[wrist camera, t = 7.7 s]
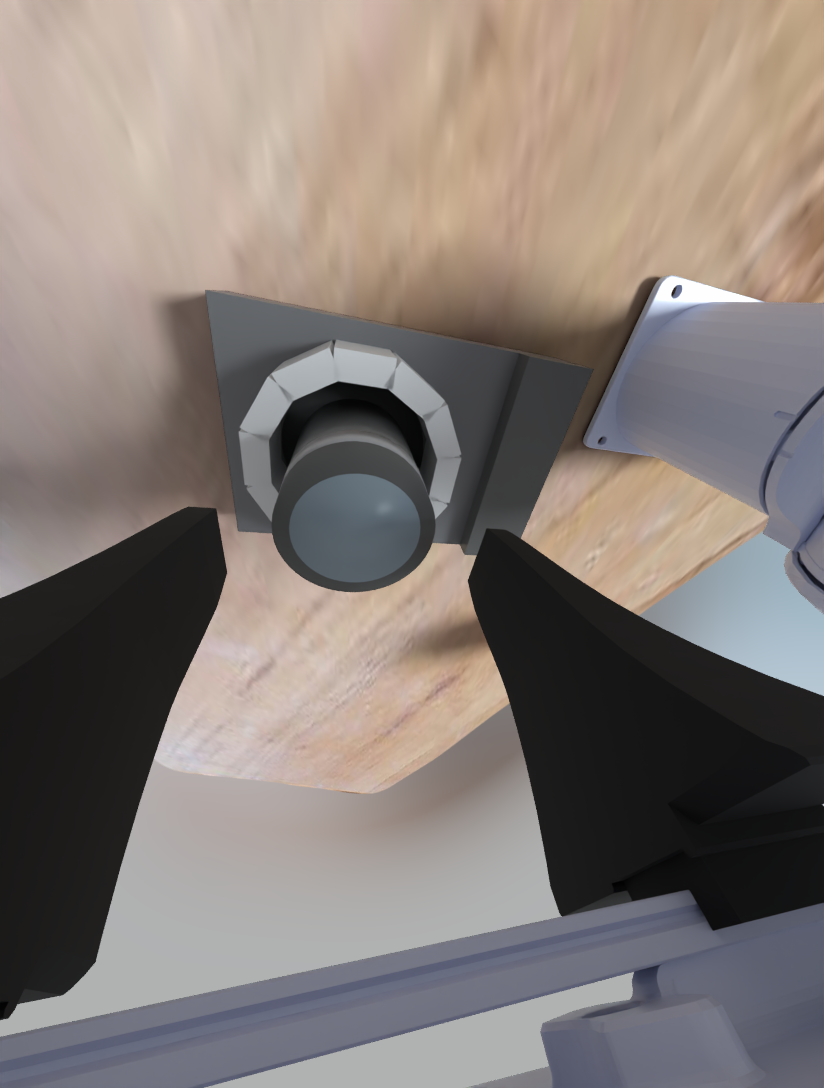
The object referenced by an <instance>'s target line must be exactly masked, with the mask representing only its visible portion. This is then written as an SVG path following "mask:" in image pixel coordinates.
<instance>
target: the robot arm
mask: <svg viewBox="0 0 824 1088" xmlns="http://www.w3.org/2000/svg"><path fill="white" fill-rule="evenodd" d="M675 286H676V291H675V293H674V295H673V296H672V297H671V292H672V290H673V288H674V287H675ZM601 437H603V438H602V440H601V441H600V442H599V443H598V440H599V439H600V438H601ZM583 443H584V444H585V445H586V446H587V447H589V448H594V449H602V450H609V451H616V452H623V453H630V454H637V455H645V456H652V457H657V458H659V459H661V460H662V461H664V462H666V463H668V464H670V465H672V466H674V467H676V468H678V469H680V470H682V471H684V472H685V473H687V474H689V475H691V476H693V477H695V478H697V479H699V480H701V481H703V482H705V483H707V484H709V485H710V486H712V487H714V488H716V489H718V490H720V491H722V492H724V493H726V494H728V495H730V496H732V497H733V498H735V499H737V500H739V501H741V502H743V503H745V504H747V505H749V506H751V507H753V508H755V509H757V510H758V511H760V512H762V513H764V514H766V515H768V516H769V519H768V522H767V525H766V527H765V528H764V530H763V534H764V535H766V536H768V537H770V538H772V539H773V540H775V541H777V542H779V543H780V544H782V545H784V546H786V547H787V548H789V549H791V550H790V551H789V552H788V554H787V555H786V558H785V564H784V567H785V571H786V574H787V576H788V578H789V580H790V581H791V583H792V584H793V585H794V586H795V588H796V589H797V590H798V591H799V593H800V594H801V595H802V596H804V597H805V598H806V599H807V600H808V601H809V602H810V603H811V604H812V605H813V606H815V607H816V608H817V609H818V610H819V611H820V612H822V613H823V614H824V303H789V302H764V301H760V300H757V299H753V298H750V297H746V296H743V295H739V294H736V293H733V292H729V291H726V290H722V289H719V288H715V287H712V286H708V285H705V284H702V283H698V282H695V281H691V280H688V279H684V278H681V277H677V276H674V275H672V276H664V277H662V278H660V279H659V280H658V281H657V282H656V284H655V286H654V287H653V289H652V292H651V294H650V296H649V298H648V300H647V302H646V304H645V307H644V309H643V311H642V313H641V315H640V317H639V320H638V322H637V324H636V326H635V328H634V330H633V332H632V335H631V337H630V339H629V341H628V343H627V345H626V348H625V350H624V352H623V354H622V356H621V358H620V360H619V363H618V365H617V367H616V369H615V371H614V373H613V375H612V378H611V380H610V382H609V384H608V386H607V388H606V391H605V393H604V395H603V397H602V399H601V401H600V403H599V406H598V408H597V410H596V412H595V414H594V416H593V419H592V421H591V423H590V425H589V427H588V429H587V431H586V434H585V436H584V439H583ZM226 575H227V569H226V563H225V557H224V552H223V546H222V540H221V534H220V528H219V523H218V517H217V511H216V509H214V508H200V507H187V508H184V509H182V510H180V511H178V512H176V513H174V514H172V515H170V516H168V517H166V518H164V519H162V520H161V521H159V522H157V523H155V524H153V525H151V526H149V527H148V528H146V529H144V530H142V531H140V532H138V533H136V534H135V535H133V536H131V537H129V538H127V539H125V540H123V541H121V542H120V543H118V544H116V545H114V546H112V547H110V548H108V549H106V550H104V551H102V552H100V553H98V554H96V555H94V556H92V557H90V558H88V559H86V560H84V561H82V562H80V563H78V564H76V565H74V566H72V567H70V568H67V569H65V570H63V571H61V572H59V573H57V574H55V575H53V576H51V577H49V578H47V579H44V580H42V581H40V582H38V583H35V584H33V585H31V586H29V587H26V588H24V589H22V590H19V591H17V592H15V593H12V594H10V595H7V596H5V597H2V598H0V1020H3V1019H7V1018H9V1017H10V1015H11V1014H12V1013H13V1011H14V1010H15V1008H16V1006H17V1004H20V1003H25V1002H30V1001H36V1000H41V999H45V998H50V997H55V996H61V995H64V994H65V993H66V992H67V991H68V990H70V989H71V988H72V987H73V986H74V985H75V984H76V983H77V982H78V981H79V980H80V979H81V978H82V977H83V976H84V975H85V974H86V973H87V972H88V970H89V969H90V968H91V967H92V965H93V964H94V963H95V962H96V958H97V954H98V950H99V946H100V942H101V938H102V934H103V930H104V926H105V923H106V919H107V915H108V912H109V908H110V904H111V901H112V896H113V893H114V889H115V886H116V882H117V878H118V874H119V871H120V867H121V864H122V860H123V857H124V853H125V850H126V847H127V843H128V840H129V837H130V833H131V830H132V826H133V823H134V820H135V816H136V812H137V809H138V806H139V802H140V799H141V796H142V793H143V790H144V787H145V784H146V781H147V777H148V774H149V772H150V768H151V765H152V762H153V759H154V756H155V753H156V750H157V747H158V744H159V741H160V738H161V735H162V733H163V730H164V727H165V724H166V721H167V718H168V715H169V712H170V709H171V707H172V704H173V702H174V699H175V697H176V695H177V692H178V690H179V687H180V685H181V683H182V681H183V679H184V677H185V675H186V672H187V670H188V668H189V666H190V664H191V662H192V660H193V658H194V655H195V653H196V651H197V649H198V647H199V645H200V643H201V640H202V638H203V636H204V634H205V632H206V630H207V628H208V625H209V623H210V621H211V619H212V617H213V614H214V612H215V610H216V608H217V605H218V602H219V599H220V595H221V592H222V589H223V585H224V582H225V578H226ZM468 584H469V588H470V593H471V597H472V601H473V605H474V609H475V612H476V615H477V617H478V620H479V622H480V625H481V628H482V630H483V633H484V635H485V638H486V640H487V643H488V645H489V648H490V650H491V653H492V655H493V657H494V660H495V662H496V665H497V667H498V670H499V672H500V675H501V677H502V680H503V683H504V686H505V689H506V692H507V695H508V698H509V702H510V705H511V709H512V712H513V716H514V719H515V723H516V726H517V730H518V734H519V738H520V741H521V745H522V749H523V753H524V757H525V761H526V765H527V770H528V773H529V778H530V782H531V787H532V792H533V796H534V801H535V805H536V810H537V815H538V820H539V825H540V830H541V835H542V841H543V846H544V851H545V857H546V862H547V868H548V874H549V880H550V886H551V889H552V892H553V895H554V898H555V901H556V904H557V907H558V910H559V913H560V914H561V916H562V917H558V918H554V919H549V920H544V921H540V922H535V923H530V924H526V925H521V926H516V927H512V928H507V929H502V930H498V931H493V932H488V933H484V934H479V935H474V936H470V937H465V938H460V939H456V940H451V941H446V942H442V943H437V944H433V945H428V946H423V947H419V948H414V949H409V950H404V951H400V952H395V953H390V954H386V955H381V956H376V957H372V958H367V959H362V960H358V961H353V962H348V963H343V964H339V965H334V966H329V967H325V968H321V969H316V970H311V971H307V972H302V973H297V974H292V975H288V976H283V977H278V978H273V979H269V980H264V981H259V982H255V983H250V984H245V985H241V986H236V987H231V988H227V989H222V990H218V991H213V992H208V993H203V994H199V995H194V996H189V997H185V998H180V999H176V1000H171V1001H166V1002H161V1003H157V1004H152V1005H148V1006H143V1007H138V1008H133V1009H129V1010H124V1011H119V1012H115V1013H110V1014H106V1015H101V1016H96V1017H92V1018H87V1019H83V1020H78V1021H72V1022H68V1023H64V1024H59V1025H54V1026H49V1027H44V1028H40V1029H35V1030H31V1031H26V1032H21V1033H16V1034H12V1035H7V1036H3V1037H0V1088H204V1087H208V1086H212V1085H215V1084H219V1083H223V1082H227V1081H230V1080H233V1079H238V1078H241V1077H245V1076H248V1075H252V1074H256V1073H259V1072H264V1071H267V1070H271V1069H275V1068H278V1067H282V1066H286V1065H289V1064H293V1063H297V1062H301V1061H304V1060H307V1059H312V1058H315V1057H319V1056H323V1055H327V1054H330V1053H334V1052H337V1051H341V1050H345V1049H349V1048H352V1047H356V1046H360V1045H363V1044H367V1043H371V1042H375V1041H379V1040H382V1039H386V1038H390V1037H393V1036H397V1035H401V1034H405V1033H408V1032H412V1031H416V1030H419V1029H423V1028H427V1027H431V1026H434V1025H438V1024H441V1023H445V1022H449V1021H453V1020H456V1019H460V1018H464V1017H467V1016H471V1015H475V1014H479V1013H482V1012H486V1011H490V1010H494V1009H497V1008H501V1007H504V1006H508V1005H512V1004H516V1003H519V1002H523V1001H527V1000H531V999H534V998H538V997H541V996H545V995H549V994H553V993H556V992H560V991H564V990H568V989H571V988H575V987H579V986H583V985H586V984H590V983H594V982H597V981H601V980H605V979H609V978H612V977H616V976H620V975H623V974H627V973H631V972H634V971H635V972H634V975H633V979H632V986H633V996H632V997H631V999H630V1000H626V1001H619V1002H613V1003H606V1004H600V1005H595V1006H591V1007H587V1008H583V1009H579V1010H576V1011H572V1012H570V1013H567V1014H565V1015H562V1016H560V1017H557V1018H555V1019H552V1020H550V1021H547V1022H545V1023H543V1024H542V1028H541V1036H542V1040H543V1044H544V1048H545V1052H546V1055H547V1059H548V1063H549V1066H548V1067H545V1068H541V1069H537V1070H533V1071H529V1072H525V1073H521V1074H517V1075H513V1076H510V1077H506V1078H502V1079H498V1080H494V1081H490V1082H487V1083H482V1084H479V1085H475V1086H471V1087H467V1088H824V806H823V805H822V804H824V696H822V695H819V694H816V693H814V692H811V691H808V690H806V689H803V688H800V687H797V686H795V685H792V684H789V683H787V682H784V681H781V680H778V679H775V678H773V677H770V676H768V675H765V674H763V673H760V672H758V671H756V670H753V669H751V668H748V667H746V666H744V665H741V664H739V663H736V662H734V661H732V660H729V659H727V658H724V657H722V656H720V655H717V654H715V653H713V652H711V651H709V650H706V649H704V648H702V647H700V646H697V645H695V644H693V643H691V642H689V641H687V640H685V639H683V638H681V637H679V636H677V635H675V634H673V633H671V632H669V631H666V630H664V629H662V628H660V627H659V626H656V625H655V624H653V623H651V622H649V621H647V620H645V619H643V618H642V617H640V616H638V615H636V614H634V613H633V612H631V611H629V610H627V609H626V608H624V607H622V606H620V605H618V604H617V603H615V602H613V601H612V600H610V599H608V598H607V597H605V596H603V595H602V594H600V593H599V592H597V591H596V590H594V589H593V588H591V587H590V586H588V585H586V584H585V583H583V582H582V581H580V580H579V579H577V578H576V577H574V576H573V575H571V574H570V573H569V572H567V571H566V570H564V569H563V568H561V567H560V566H559V565H557V564H556V563H554V562H553V561H551V560H550V559H549V558H547V557H546V556H544V555H543V554H542V553H540V552H539V551H537V550H536V549H535V548H533V547H532V546H530V545H529V544H528V543H526V542H525V541H523V540H522V539H520V538H519V537H517V536H516V535H514V534H513V533H511V532H509V531H507V530H504V529H490V528H486V531H485V534H484V537H483V540H482V543H481V545H480V548H479V551H478V554H477V557H476V559H475V562H474V565H473V568H472V571H471V573H470V576H469V579H468Z"/></svg>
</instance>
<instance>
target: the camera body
mask: <svg viewBox="0 0 824 1088" xmlns="http://www.w3.org/2000/svg"><path fill="white" fill-rule="evenodd" d="M205 292H206V299H207V306H208V314H209V321H210V328H211V336H212V343H213V350H214V358H215V365H216V373H217V380H218V387H219V395H220V402H221V409H222V417H223V424H224V431H225V439H226V446H227V453H228V461H229V468H230V475H231V483H232V490H233V497H234V505H235V512H236V520H237V527H238V531H242V532H259V533H272V525H271V523H272V514H273V510H274V506H275V503H276V500H277V497H278V495H279V491H280V487H281V484H282V481H283V479H284V476H285V473H286V471H287V469H288V466H289V464H290V461H291V458H292V456H293V453H294V450H295V447H296V444H297V442H298V439H299V436H300V433H301V431H302V429H303V426H304V425H305V423H306V421H307V420H308V419H309V417H310V416H311V415H312V414H313V413H314V412H315V411H316V410H318V409H319V408H321V407H322V406H324V405H326V404H328V403H330V402H333V401H337V400H342V399H359V400H364V401H368V402H371V403H373V404H376V405H378V406H379V407H381V408H383V409H384V410H385V411H387V412H388V413H389V414H390V415H391V416H392V417H393V418H394V419H395V420H396V421H397V423H398V424H399V426H400V428H401V429H402V431H403V434H404V436H405V439H406V441H407V444H408V446H409V448H410V451H411V453H412V456H413V458H414V461H415V463H416V466H417V468H418V469H419V472H420V474H421V477H422V479H423V482H424V484H425V487H426V489H427V493H428V496H429V498H430V501H431V503H432V506H433V509H434V514H435V523H436V526H435V535H434V539H433V542H432V543H445V544H460V546H461V548H462V550H463V553H464V555H477V554H478V551H479V548H480V545H481V543H482V540H483V537H484V534H485V531H486V528H490V529H504V530H507V531H509V532H511V533H513V534H514V535H516V536H517V537H519V538H520V539H521V536H522V534H523V532H524V529H525V527H526V525H527V522H528V520H529V518H530V516H531V513H532V511H533V509H534V506H535V504H536V502H537V499H538V497H539V495H540V492H541V490H542V488H543V485H544V483H545V481H546V478H547V476H548V474H549V472H550V469H551V467H552V465H553V462H554V460H555V458H556V455H557V453H558V451H559V448H560V446H561V444H562V441H563V439H564V437H565V434H566V432H567V430H568V428H569V425H570V423H571V421H572V418H573V416H574V414H575V411H576V409H577V407H578V404H579V402H580V400H581V397H582V395H583V393H584V390H585V388H586V386H587V384H588V381H589V379H590V377H591V374H592V372H593V370H594V369H591V368H588V367H584V366H581V365H577V364H574V363H571V362H567V361H564V360H561V359H557V358H554V357H549V356H544V355H539V354H534V353H529V352H524V351H519V350H514V349H510V348H505V347H500V346H495V345H490V344H485V343H480V342H475V341H470V340H465V339H460V338H455V337H450V336H446V335H441V334H436V333H431V332H426V331H421V330H416V329H411V328H406V327H401V326H396V325H391V324H386V323H381V322H377V321H372V320H367V319H362V318H357V317H352V316H347V315H342V314H337V313H332V312H327V311H322V310H317V309H312V308H308V307H303V306H298V305H293V304H288V303H283V302H278V301H273V300H268V299H263V298H258V297H253V296H248V295H244V294H239V293H234V292H229V291H216V290H205Z"/></svg>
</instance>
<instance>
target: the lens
mask: <svg viewBox="0 0 824 1088" xmlns="http://www.w3.org/2000/svg"><path fill="white" fill-rule="evenodd" d="M271 525H272V535H273V539H274V543H275V545H276V547H277V550H278V552H279V553H280V555H281V557H282V558H283V560H284V561H285V562H286V563H287V564H288V566H289V567H290V568H292V569H293V570H294V571H295V572H296V573H297V574H299V575H300V576H301V577H303V578H304V579H306V580H308V581H310V582H312V583H314V584H316V585H318V586H321V587H324V588H327V589H331V590H336V591H344V592H363V591H370V590H376V589H379V588H383V587H386V586H388V585H391V584H393V583H395V582H397V581H399V580H401V579H403V578H404V577H406V576H407V575H409V574H410V573H411V572H412V571H413V570H415V569H416V568H417V567H418V565H419V564H420V563H421V562H422V561H423V559H424V558H425V557H426V555H427V553H428V552H429V550H430V547H431V545H432V542H433V539H434V535H435V526H436V523H435V514H434V509H433V506H432V503H431V501H430V498H429V496H428V493H427V489H426V487H425V484H424V482H423V479H422V477H421V474H420V472H419V469H418V468H417V466H416V463H415V461H414V458H413V456H412V453H411V451H410V448H409V446H408V444H407V441H406V439H405V436H404V434H403V431H402V429H401V428H400V426H399V424H398V423H397V421H396V420H395V419H394V418H393V417H392V416H391V415H390V414H389V413H388V412H387V411H385V410H384V409H383V408H381V407H379V406H378V405H376V404H373V403H371V402H368V401H364V400H359V399H342V400H337V401H333V402H330V403H328V404H326V405H324V406H322V407H321V408H319V409H318V410H316V411H315V412H314V413H313V414H312V415H311V416H310V417H309V419H308V420H307V421H306V423H305V425H304V426H303V429H302V431H301V433H300V436H299V439H298V442H297V444H296V447H295V450H294V453H293V456H292V458H291V461H290V464H289V466H288V469H287V471H286V473H285V476H284V479H283V481H282V484H281V487H280V491H279V495H278V497H277V500H276V503H275V506H274V510H273V514H272V523H271Z"/></svg>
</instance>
